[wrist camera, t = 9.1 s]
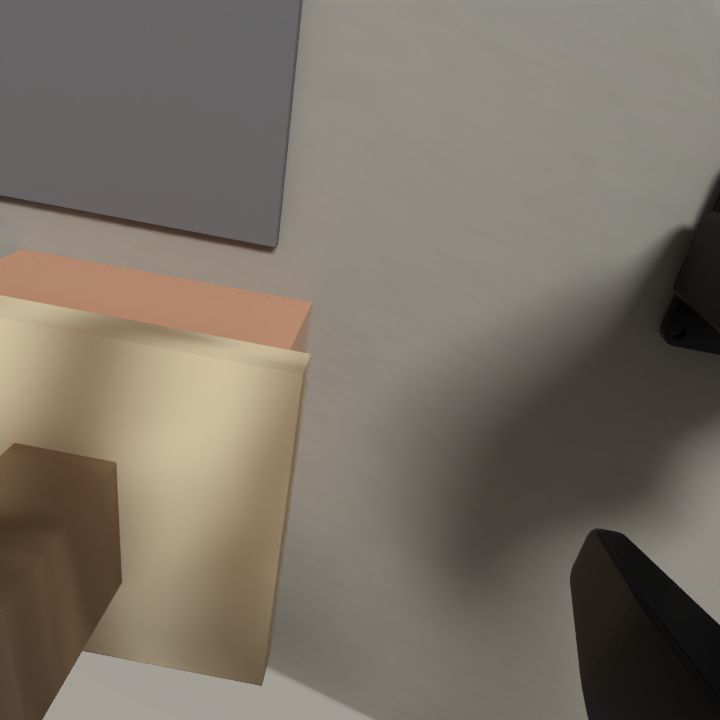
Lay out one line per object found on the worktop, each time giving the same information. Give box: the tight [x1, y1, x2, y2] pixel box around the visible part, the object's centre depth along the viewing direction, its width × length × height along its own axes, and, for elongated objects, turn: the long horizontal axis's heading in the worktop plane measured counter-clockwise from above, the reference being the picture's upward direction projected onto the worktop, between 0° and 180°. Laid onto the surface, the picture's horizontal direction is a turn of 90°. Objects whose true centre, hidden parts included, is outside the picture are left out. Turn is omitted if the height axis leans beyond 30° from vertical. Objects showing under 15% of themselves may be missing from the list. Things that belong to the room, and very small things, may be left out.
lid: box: [0, 295, 311, 720], centre depth 16 cm, size 13×13×6 cm
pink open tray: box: [0, 249, 312, 353], centre depth 21 cm, size 11×11×6 cm
